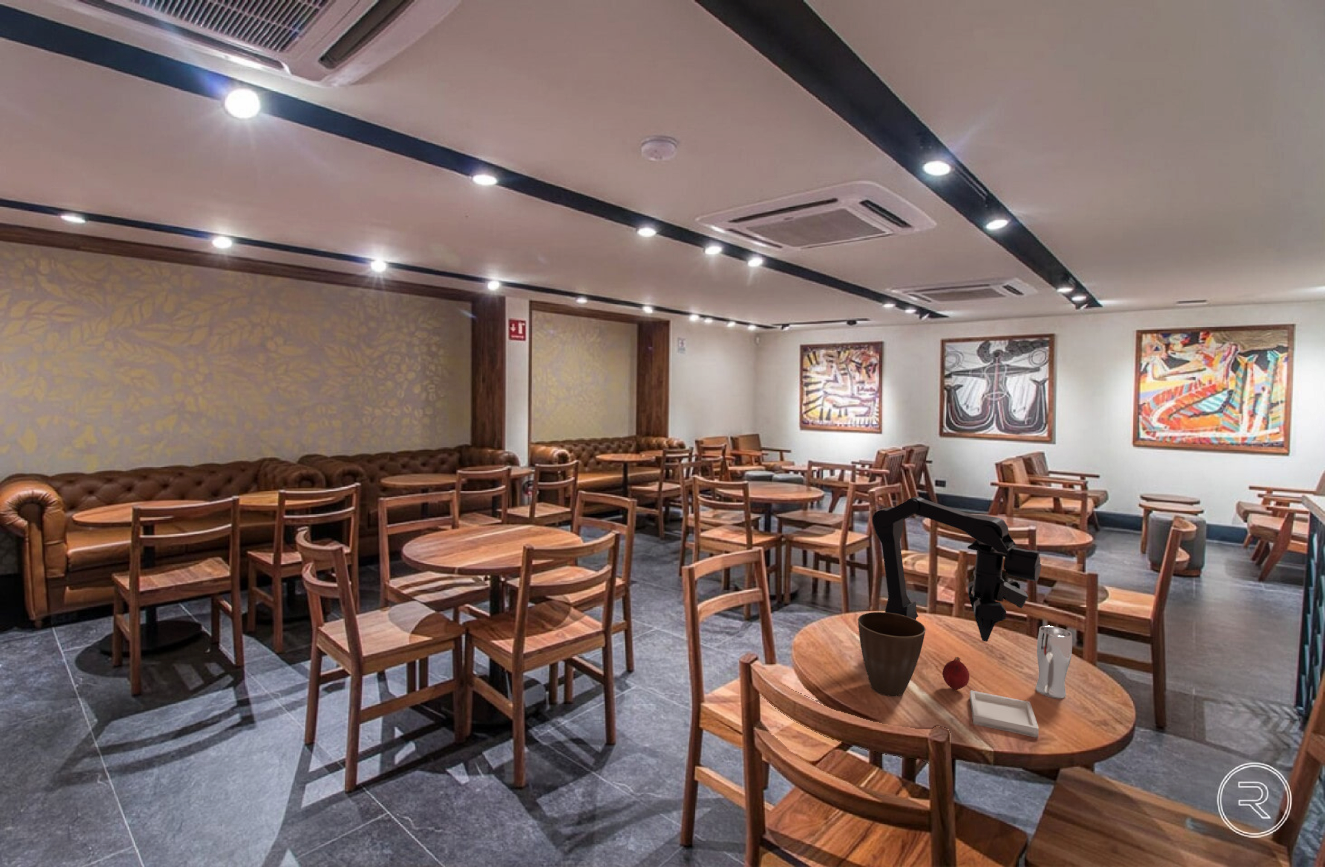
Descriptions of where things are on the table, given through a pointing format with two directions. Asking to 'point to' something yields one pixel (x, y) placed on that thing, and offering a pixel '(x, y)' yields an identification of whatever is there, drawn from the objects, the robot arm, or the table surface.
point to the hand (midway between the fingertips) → (982, 633)
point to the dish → (1003, 713)
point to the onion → (956, 674)
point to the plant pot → (890, 650)
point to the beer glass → (1053, 660)
